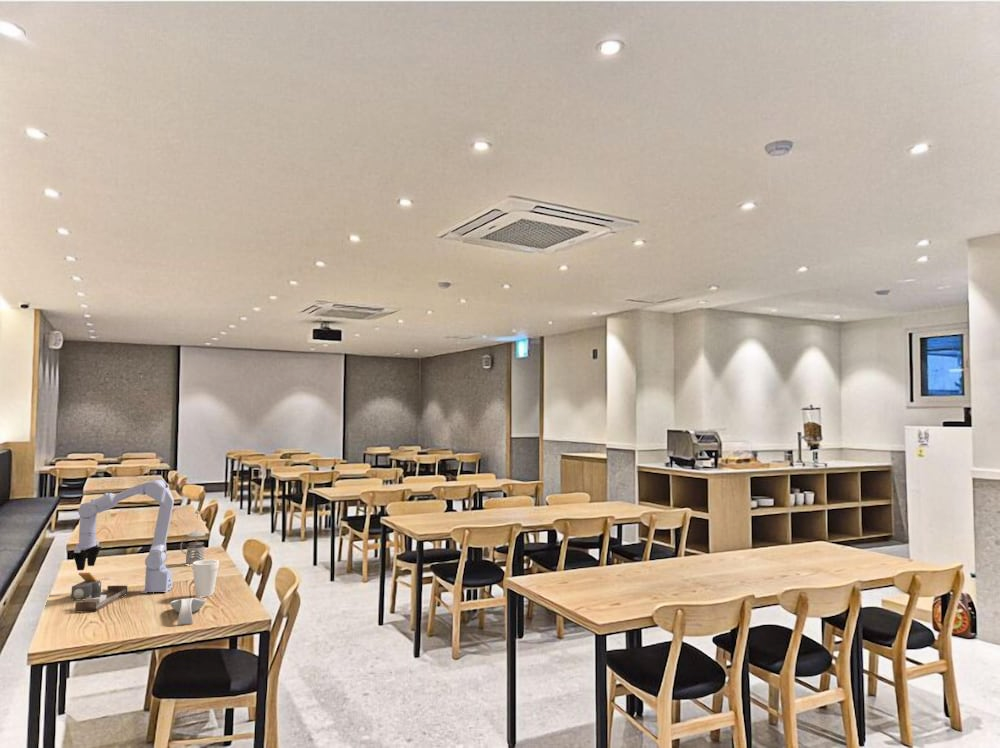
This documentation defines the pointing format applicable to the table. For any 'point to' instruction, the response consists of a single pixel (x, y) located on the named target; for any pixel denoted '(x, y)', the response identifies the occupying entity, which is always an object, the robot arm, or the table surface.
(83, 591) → the box
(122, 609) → the table surface
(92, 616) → the table surface
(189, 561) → the french press
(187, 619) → the spoon rest
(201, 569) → the foam cup
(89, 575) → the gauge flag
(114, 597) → the rail
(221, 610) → the table surface
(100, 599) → the carriage
